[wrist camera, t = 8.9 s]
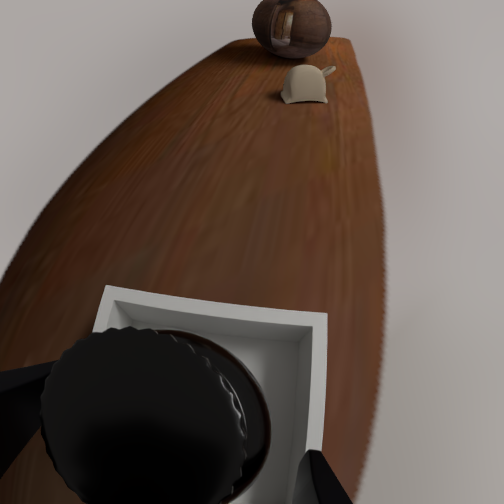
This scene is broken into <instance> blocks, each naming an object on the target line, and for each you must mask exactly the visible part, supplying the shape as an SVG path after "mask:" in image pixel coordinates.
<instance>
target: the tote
mask: <svg viewBox="0 0 504 504" xmlns="http://www.w3.org/2000/svg"><path fill="white" fill-rule="evenodd" d="M128 326H132V327H134V328H137V329H138V330H140V329H146V328H151V329H153V330H154V329H174V330H181V331H186V332H190V333H194V334H197V335H200V336H203V337H205V338H208V339H210V340H212V341H214V342H216V343H218V344H220V345H221V346H223V347H224V348H226V349H227V350H229V351H230V352H231V353H233V354H234V355H235V356H236V357H237V358H238V359H239V360H241V361H242V362H243V363H244V364H245V366H246V367H247V368H248V369H249V370H250V371H251V373H252V374H253V375H254V377H255V378H256V380H257V381H258V383H259V385H260V386H261V388H262V390H263V392H264V394H265V397H266V400H267V402H268V405H269V409H270V413H271V420H272V443H271V449H270V453H269V456H268V460H267V462H266V464H265V467H264V469H263V470H262V472H261V474H260V476H259V477H258V479H257V480H256V481H255V482H254V484H253V485H252V486H251V487H250V488H249V489H248V490H247V491H246V492H245V493H244V494H243V495H241V496H240V497H239V498H237V499H236V500H234V501H233V502H231V503H230V504H292V499H293V493H294V488H295V483H296V477H297V471H298V466H299V463H300V461H301V459H302V458H303V456H304V455H305V453H306V452H307V450H309V449H314V450H319V451H321V449H322V438H323V425H324V411H325V393H326V368H327V313H316V312H304V311H293V310H282V309H272V308H262V307H253V306H244V305H235V304H227V303H219V302H211V301H203V300H196V299H189V298H182V297H175V296H169V295H162V294H156V293H149V292H143V291H137V290H132V289H126V288H120V287H115V286H109V285H106V287H105V290H104V293H103V296H102V300H101V303H100V306H99V310H98V313H97V317H96V320H95V324H94V328H93V332H103V331H105V330H107V329H109V328H111V327H112V328H117V329H122V328H125V327H128ZM93 332H92V333H93Z"/></svg>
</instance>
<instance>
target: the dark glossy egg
mask: <svg viewBox="0 0 504 504" xmlns="http://www.w3.org/2000/svg"><path fill="white" fill-rule="evenodd" d="M252 28H253V32H254V34H255V37H256V39H257V40H258V42H259V43H260V44H261V45H262V46H263V47H264V48H265V49H267V50H268V51H269V52H271V53H273V54H275V55H278V56H281V57H285V58H304V57H307V56H310V55H313V54H315V53H316V52H318V51H319V50H321V49H322V48H323V47H324V46H325V44H326V43H327V41H328V39H329V37H330V34H331V20H330V16H329V14H328V12H327V10H326V9H325V8H324V6H323V5H322V4H321V3H320V2H319V1H317V0H263V1H262V2H261V3H260V4H259V5H258V6H257V8H256V9H255V11H254V14H253V18H252Z"/></svg>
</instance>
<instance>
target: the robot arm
mask: <svg viewBox="0 0 504 504" xmlns="http://www.w3.org/2000/svg"><path fill="white" fill-rule="evenodd" d="M57 361H58V360H56V361H52V362H47V363H43V364H38V365H33V366H28V367H23V368H18V369H13V370H7V371H2V372H0V479H1V477H2V476H3V474H4V473H5V472H6V470H7V469H8V468H9V466H10V465H11V464H12V462H13V461H14V460H15V458H16V457H17V456H18V455H19V453H20V452H21V451H22V449H23V448H24V447H25V445H26V444H27V443H28V442H29V440H30V439H31V438H32V437H33V435H34V434H35V433H36V432H37V430H38V429H39V428H40V427H41V425H42V424H41V421H40V417H39V413H40V410H41V398H40V397H41V395H42V393H43V391H44V387H45V379H46V378H47V377H48V376H49V375H50V374H51V370H52V366H53V364H54V363H55V362H57ZM292 504H353V503H352V501H351V500H350V498H349V496H348V495H347V493H346V492H345V490H344V489H343V487H342V485H341V484H340V482H339V480H338V479H337V477H336V476H335V474H334V472H333V471H332V469H331V467H330V466H329V464H328V462H327V461H326V459H325V457H324V456H323V454H322V452H321V451H319V450H314V449H309V450H307V452H306V453H305V455H304V456H303V458H302V459H301V461H300V463H299V466H298V471H297V477H296V483H295V488H294V493H293V499H292Z"/></svg>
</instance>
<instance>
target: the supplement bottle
mask: <svg viewBox="0 0 504 504" xmlns="http://www.w3.org/2000/svg"><path fill="white" fill-rule="evenodd" d="M40 398H41V410H40V413H39V417H40V421H41V424H42V426H41V435H42V437H43V439H44V441H45V444H46V452H47V454H48V455H49V457H50V458H51V460H52V461H53V465H54V468H55V470H56V471H57V473H58V474H59V475H60V476H61V477H63V479H64V481H65V483H66V485H67V487H68V488H70V489H71V490H72V491H74V492H75V493H76V494H77V495H78V496H79V498H80V499H81V500H82V502H84V503H86V504H230V503H231V502H233V501H234V500H236V499H237V498H239V497H240V496H241V495H243V494H244V493H245V492H246V491H247V490H248V489H249V488H250V487H251V486H252V485H253V484H254V482H255V481H256V480H257V479H258V477H259V476H260V474H261V472H262V470H263V469H264V467H265V464H266V462H267V460H268V456H269V453H270V449H271V443H272V420H271V413H270V409H269V405H268V402H267V400H266V397H265V394H264V392H263V390H262V388H261V386H260V385H259V383H258V381H257V380H256V378H255V377H254V375H253V374H252V373H251V371H250V370H249V369H248V368H247V367H246V366H245V364H244V363H243V362H242V361H241V360H239V359H238V358H237V357H236V356H235V355H234V354H233V353H231V352H230V351H229V350H227V349H226V348H224V347H223V346H221V345H220V344H218V343H216V342H214V341H212V340H210V339H208V338H205V337H203V336H200V335H197V334H194V333H190V332H186V331H181V330H174V329H154V330H153V329H151V328H146V329H140V330H138V329H137V328H134V327H132V326H128V327H125V328H122V329H117V328H112V327H111V328H109V329H107V330H105V331H103V332H93V333H91V334H90V335H89V336H88V337H87V338H86V339H80V340H77V341H76V342H75V344H74V345H73V346H72V348H70V349H67V350H65V351H64V352H63V354H62V356H61V358H60V360H58V361H57V362H55V363H54V364H53V366H52V370H51V374H50V375H49V376H48V377H47V378H46V379H45V387H44V391H43V393H42V395H41V397H40Z"/></svg>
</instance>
